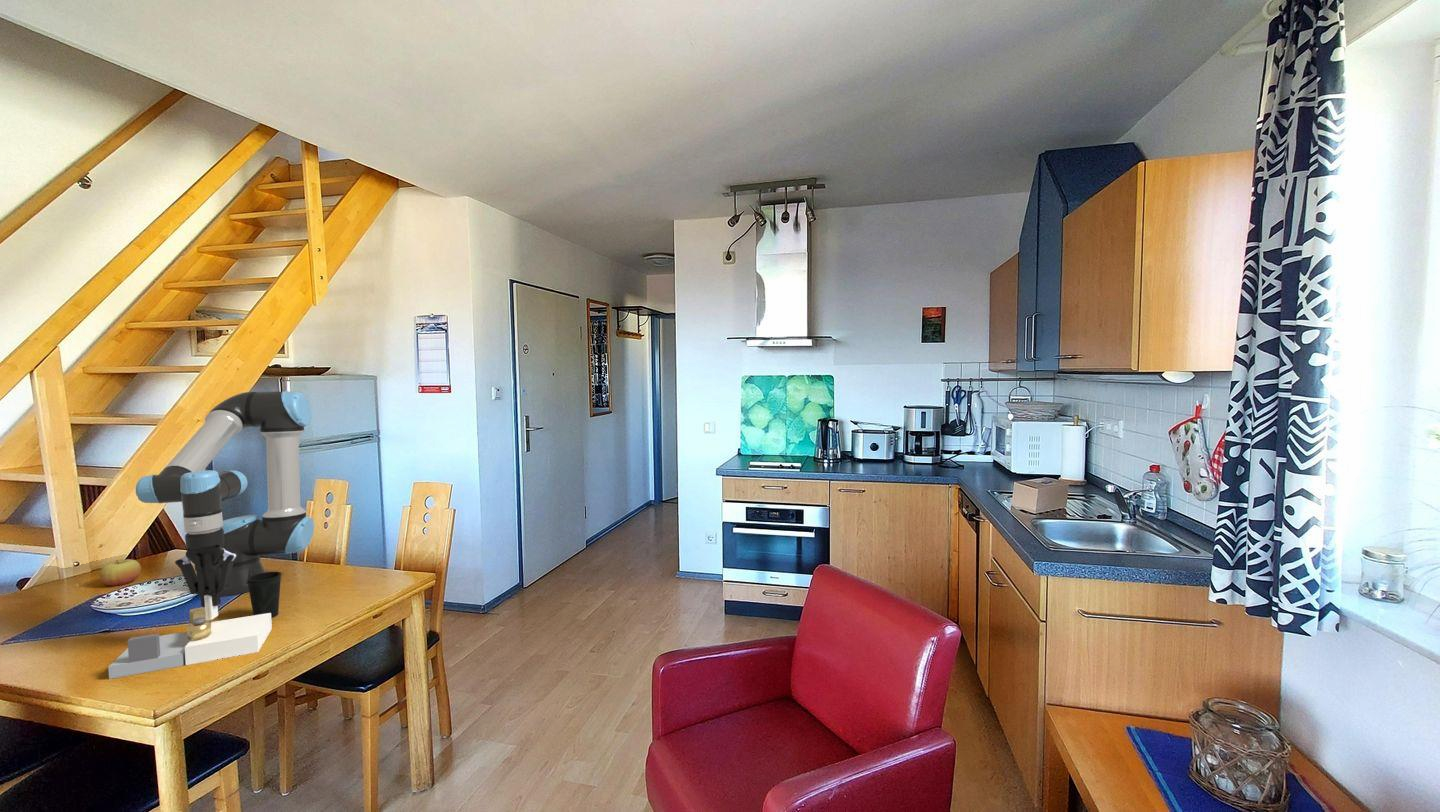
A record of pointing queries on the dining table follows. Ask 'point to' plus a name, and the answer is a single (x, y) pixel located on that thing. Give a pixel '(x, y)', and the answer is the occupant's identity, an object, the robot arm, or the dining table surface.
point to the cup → (265, 593)
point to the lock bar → (199, 629)
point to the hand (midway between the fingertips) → (212, 617)
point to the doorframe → (192, 646)
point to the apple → (120, 572)
